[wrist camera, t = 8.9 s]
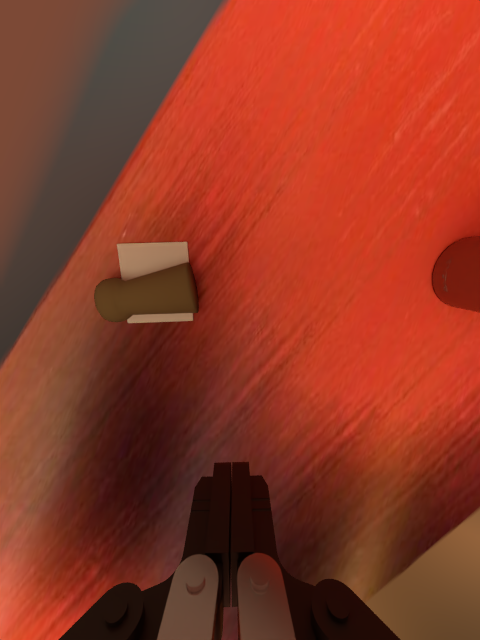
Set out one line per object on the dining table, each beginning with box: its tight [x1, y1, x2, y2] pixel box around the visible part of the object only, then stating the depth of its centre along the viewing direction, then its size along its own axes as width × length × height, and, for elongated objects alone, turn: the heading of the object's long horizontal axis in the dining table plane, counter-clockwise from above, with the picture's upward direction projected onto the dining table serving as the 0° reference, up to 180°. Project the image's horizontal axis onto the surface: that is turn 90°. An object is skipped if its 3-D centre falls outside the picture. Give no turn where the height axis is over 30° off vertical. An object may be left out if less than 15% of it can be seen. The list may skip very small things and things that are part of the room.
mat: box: [117, 242, 193, 323], centre depth 34 cm, size 8×10×1 cm
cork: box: [94, 262, 199, 322], centre depth 31 cm, size 6×6×11 cm
